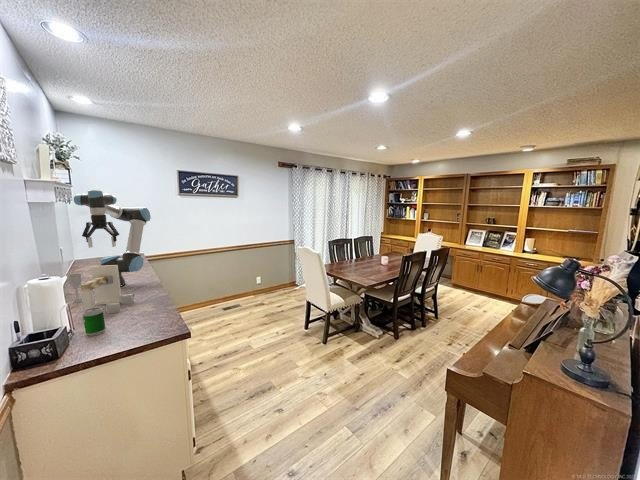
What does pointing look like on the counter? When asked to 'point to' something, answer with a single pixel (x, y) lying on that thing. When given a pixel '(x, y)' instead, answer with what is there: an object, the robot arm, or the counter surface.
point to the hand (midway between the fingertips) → (102, 247)
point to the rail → (93, 283)
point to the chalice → (75, 285)
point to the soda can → (94, 321)
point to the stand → (116, 306)
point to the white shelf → (103, 287)
